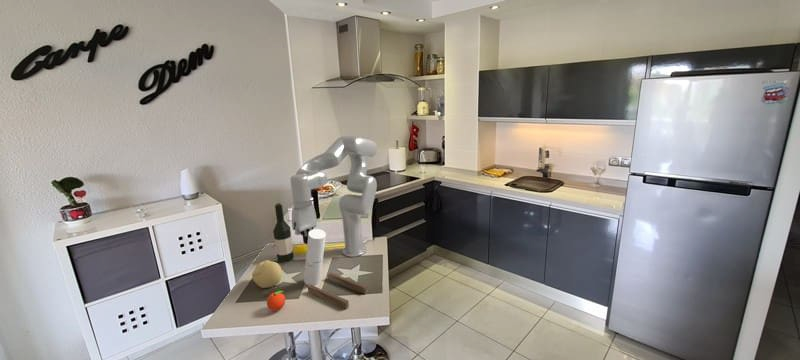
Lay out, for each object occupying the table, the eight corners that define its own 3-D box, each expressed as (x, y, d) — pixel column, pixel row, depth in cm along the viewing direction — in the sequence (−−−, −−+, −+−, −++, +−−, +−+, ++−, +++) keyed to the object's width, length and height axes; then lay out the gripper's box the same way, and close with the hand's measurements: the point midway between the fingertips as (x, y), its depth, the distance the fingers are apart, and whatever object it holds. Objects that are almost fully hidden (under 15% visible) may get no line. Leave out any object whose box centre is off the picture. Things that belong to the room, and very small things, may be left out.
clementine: (282, 300, 136) (280, 284, 134) (292, 306, 131) (290, 290, 129) (264, 310, 130) (261, 294, 128) (273, 316, 125) (271, 300, 124)
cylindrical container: (320, 285, 146) (326, 238, 136) (303, 286, 143) (308, 238, 134) (319, 274, 152) (325, 229, 142) (303, 274, 150) (308, 228, 140)
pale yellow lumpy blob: (261, 277, 154) (257, 256, 151) (286, 276, 154) (283, 255, 151) (250, 291, 143) (246, 269, 140) (278, 290, 143) (274, 268, 140)
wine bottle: (289, 263, 166) (281, 207, 158) (274, 262, 167) (265, 206, 160) (297, 255, 173) (290, 201, 166) (283, 254, 175) (275, 201, 167)
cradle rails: (330, 278, 150) (329, 272, 150) (367, 292, 138) (367, 286, 138) (308, 292, 140) (307, 286, 139) (346, 309, 128) (345, 302, 127)
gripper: (310, 197, 146) (315, 235, 151) (282, 207, 135) (287, 248, 139) (322, 199, 142) (326, 238, 147) (293, 210, 130) (299, 252, 135)
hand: (307, 243), depth 143 cm, fingers closed
